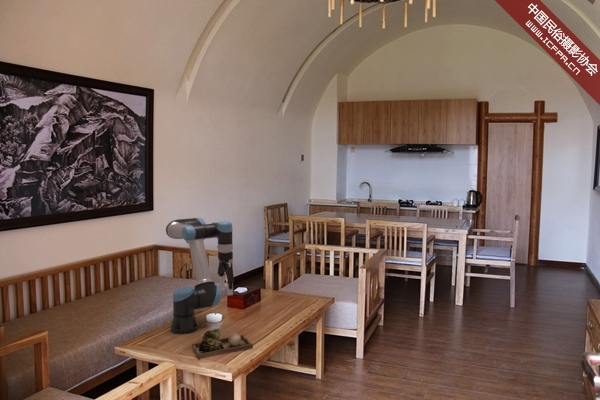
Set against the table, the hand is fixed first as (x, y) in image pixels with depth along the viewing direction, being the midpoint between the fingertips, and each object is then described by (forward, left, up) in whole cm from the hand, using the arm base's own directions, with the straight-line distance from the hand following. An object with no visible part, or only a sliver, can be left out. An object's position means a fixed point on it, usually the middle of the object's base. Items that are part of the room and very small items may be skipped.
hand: (226, 291), depth 255 cm
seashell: (+9, -12, -26) cm, 30 cm away
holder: (+10, -6, -27) cm, 29 cm away
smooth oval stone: (+10, +1, -26) cm, 28 cm away
